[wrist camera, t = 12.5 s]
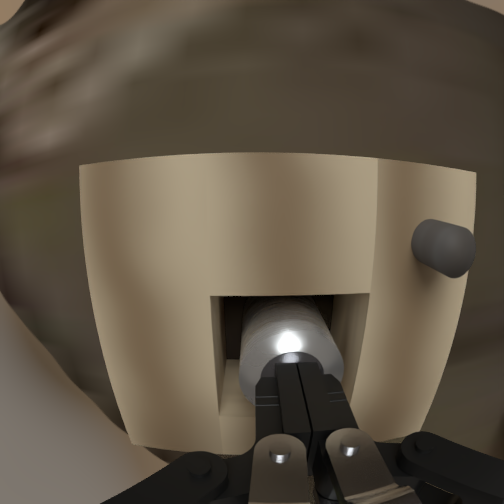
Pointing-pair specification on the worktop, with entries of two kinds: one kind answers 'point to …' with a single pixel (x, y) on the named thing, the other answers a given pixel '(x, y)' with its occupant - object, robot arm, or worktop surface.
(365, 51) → the worktop surface
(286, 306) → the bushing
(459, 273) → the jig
